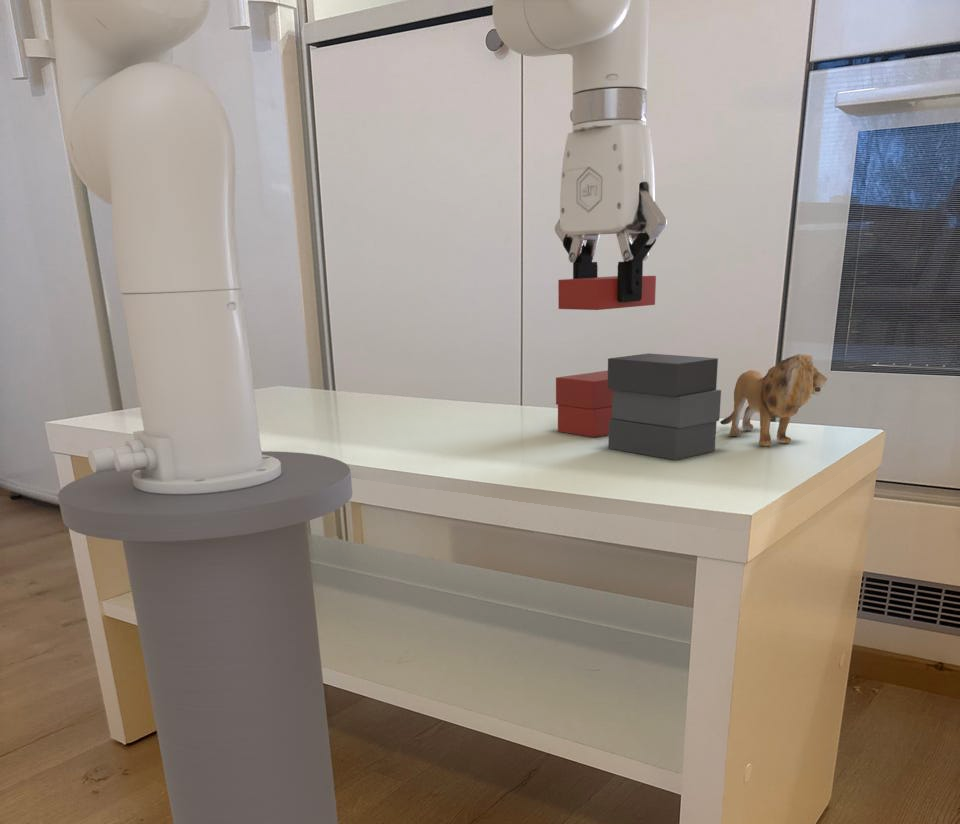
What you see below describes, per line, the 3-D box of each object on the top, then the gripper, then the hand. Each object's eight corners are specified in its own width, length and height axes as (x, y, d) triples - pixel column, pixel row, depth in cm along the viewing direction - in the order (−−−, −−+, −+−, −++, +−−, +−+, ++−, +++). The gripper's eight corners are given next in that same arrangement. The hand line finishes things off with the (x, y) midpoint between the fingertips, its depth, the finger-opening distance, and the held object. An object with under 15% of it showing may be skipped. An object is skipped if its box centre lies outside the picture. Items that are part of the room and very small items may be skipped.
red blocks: (650, 426, 109) (652, 373, 107) (593, 437, 104) (594, 381, 102) (611, 421, 114) (612, 369, 111) (555, 431, 108) (555, 377, 106)
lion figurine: (827, 447, 95) (837, 354, 91) (783, 452, 93) (791, 357, 89) (739, 426, 107) (745, 343, 104) (699, 430, 106) (703, 346, 102)
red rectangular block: (655, 304, 104) (656, 275, 103) (597, 310, 99) (597, 279, 98) (615, 304, 108) (616, 276, 107) (558, 309, 103) (558, 279, 102)
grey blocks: (675, 460, 91) (679, 364, 88) (606, 448, 98) (607, 358, 94) (717, 451, 95) (723, 358, 91) (648, 440, 101) (651, 352, 98)
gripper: (526, 123, 101) (529, 302, 108) (647, 100, 88) (642, 304, 95) (577, 126, 105) (577, 298, 112) (699, 104, 92) (691, 300, 99)
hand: (606, 299), depth 103 cm, fingers closed on red rectangular block, 6 cm apart
